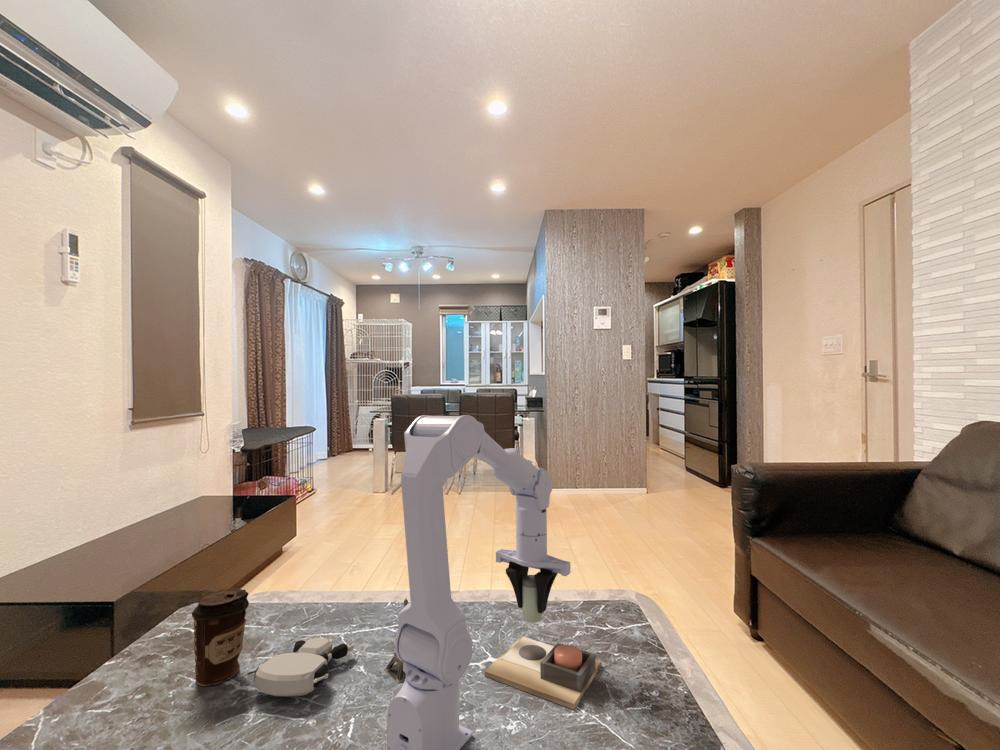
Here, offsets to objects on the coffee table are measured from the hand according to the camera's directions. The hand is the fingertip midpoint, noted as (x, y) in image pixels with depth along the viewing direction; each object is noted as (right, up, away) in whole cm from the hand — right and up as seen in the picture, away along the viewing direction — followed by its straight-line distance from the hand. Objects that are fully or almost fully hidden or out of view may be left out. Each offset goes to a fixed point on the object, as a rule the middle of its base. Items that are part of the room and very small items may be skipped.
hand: (532, 608), depth 78 cm
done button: (+6, -6, -7) cm, 10 cm away
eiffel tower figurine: (-22, -9, -5) cm, 24 cm away
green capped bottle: (0, -2, 0) cm, 2 cm away
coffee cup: (-54, -9, -6) cm, 55 cm away
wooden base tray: (+2, -8, -5) cm, 10 cm away
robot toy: (-39, -9, -6) cm, 40 cm away
